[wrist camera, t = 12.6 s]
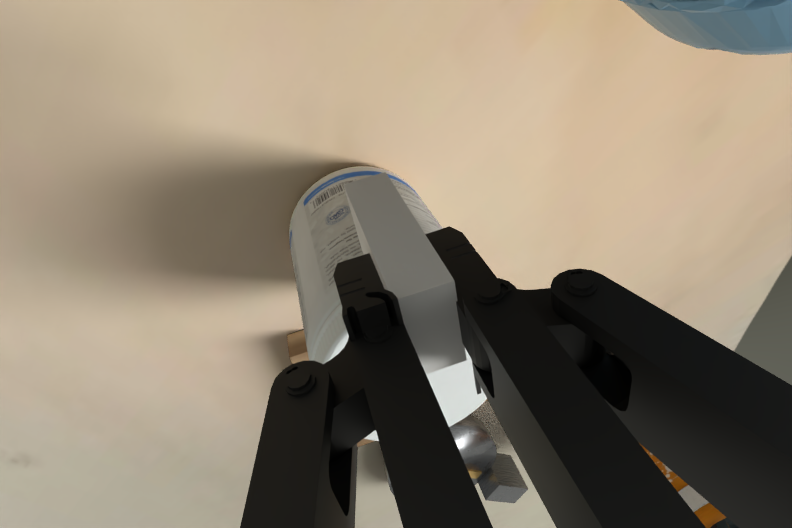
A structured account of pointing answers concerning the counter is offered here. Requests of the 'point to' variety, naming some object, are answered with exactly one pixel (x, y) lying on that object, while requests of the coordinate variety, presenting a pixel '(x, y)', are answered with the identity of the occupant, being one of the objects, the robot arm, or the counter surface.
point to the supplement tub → (338, 241)
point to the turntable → (485, 462)
